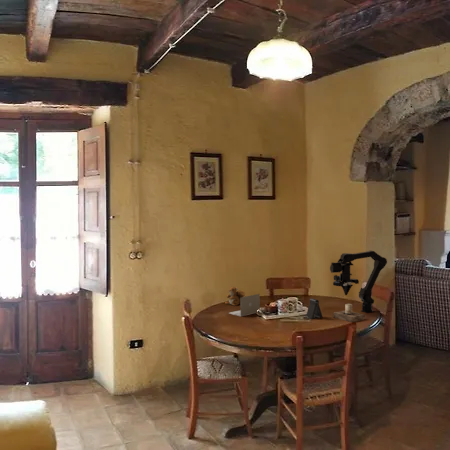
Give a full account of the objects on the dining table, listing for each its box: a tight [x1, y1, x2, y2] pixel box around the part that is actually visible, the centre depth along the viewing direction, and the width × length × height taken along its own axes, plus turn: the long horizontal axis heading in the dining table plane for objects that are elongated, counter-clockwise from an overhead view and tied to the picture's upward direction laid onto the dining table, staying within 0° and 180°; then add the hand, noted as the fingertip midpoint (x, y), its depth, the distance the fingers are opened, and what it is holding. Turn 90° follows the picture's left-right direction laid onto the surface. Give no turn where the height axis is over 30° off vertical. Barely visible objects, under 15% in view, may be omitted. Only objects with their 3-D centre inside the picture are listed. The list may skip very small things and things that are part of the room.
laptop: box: [229, 293, 261, 317], centre depth 336 cm, size 18×12×13 cm
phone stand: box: [306, 298, 323, 320], centre depth 320 cm, size 9×6×12 cm, turn 117°
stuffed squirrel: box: [224, 286, 246, 307], centre depth 365 cm, size 10×14×13 cm
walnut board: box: [332, 310, 366, 323], centre depth 316 cm, size 12×16×3 cm
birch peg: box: [344, 303, 353, 315], centre depth 315 cm, size 4×4×9 cm
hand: (346, 295), depth 330 cm, fingers closed
